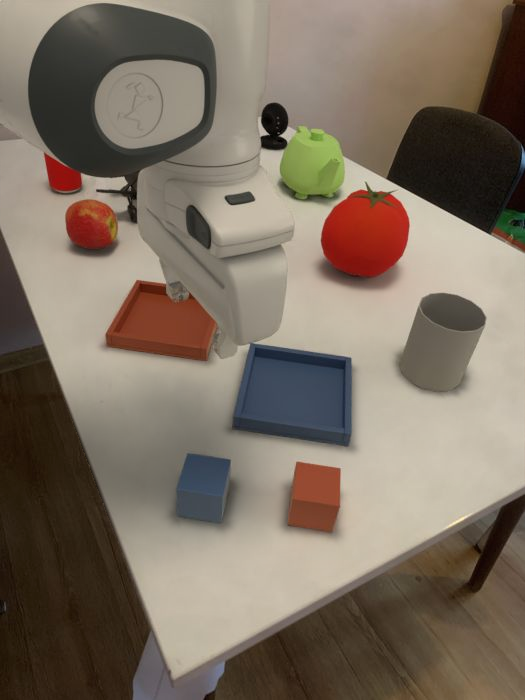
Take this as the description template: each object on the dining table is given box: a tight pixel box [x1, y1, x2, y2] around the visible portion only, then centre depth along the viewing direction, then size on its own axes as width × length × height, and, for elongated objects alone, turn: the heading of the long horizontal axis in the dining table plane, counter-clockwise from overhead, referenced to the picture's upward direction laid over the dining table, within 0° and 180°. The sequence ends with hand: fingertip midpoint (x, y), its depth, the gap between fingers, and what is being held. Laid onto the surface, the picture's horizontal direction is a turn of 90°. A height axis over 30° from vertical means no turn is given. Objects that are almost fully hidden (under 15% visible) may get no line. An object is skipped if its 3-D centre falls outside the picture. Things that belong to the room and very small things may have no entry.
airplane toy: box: [95, 169, 143, 223], centre depth 99 cm, size 20×19×15 cm
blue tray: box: [232, 342, 353, 447], centre depth 67 cm, size 14×14×2 cm
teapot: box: [279, 125, 346, 200], centre depth 113 cm, size 20×13×13 cm
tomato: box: [320, 181, 411, 278], centre depth 88 cm, size 16×14×14 cm
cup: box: [399, 292, 488, 393], centre depth 71 cm, size 8×8×10 cm
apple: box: [64, 198, 119, 250], centre depth 89 cm, size 8×8×8 cm
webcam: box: [260, 102, 289, 150], centre depth 133 cm, size 8×8×10 cm
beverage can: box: [43, 152, 83, 194], centre depth 104 cm, size 6×6×12 cm
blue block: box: [175, 452, 232, 524], centre depth 54 cm, size 4×4×4 cm
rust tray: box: [104, 279, 218, 362], centre depth 76 cm, size 14×14×2 cm
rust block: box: [287, 461, 342, 533], centre depth 54 cm, size 4×4×4 cm
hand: (199, 323), depth 51 cm, fingers open, 8 cm apart
